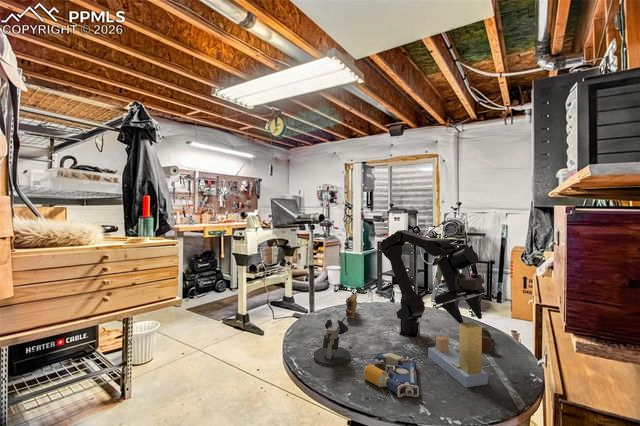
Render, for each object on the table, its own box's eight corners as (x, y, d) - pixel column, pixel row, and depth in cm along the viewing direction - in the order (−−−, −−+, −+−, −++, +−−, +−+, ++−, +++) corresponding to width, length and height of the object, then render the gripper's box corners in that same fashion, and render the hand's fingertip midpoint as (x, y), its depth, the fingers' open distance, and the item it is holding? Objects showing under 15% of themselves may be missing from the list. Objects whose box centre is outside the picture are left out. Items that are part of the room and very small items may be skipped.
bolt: (485, 341, 117) (486, 356, 104) (473, 332, 119) (471, 346, 106) (494, 329, 116) (495, 343, 103) (481, 321, 118) (481, 333, 105)
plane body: (428, 356, 101) (428, 335, 101) (446, 354, 103) (446, 333, 102) (465, 387, 83) (465, 362, 83) (487, 384, 85) (487, 359, 85)
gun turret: (358, 343, 111) (358, 308, 111) (345, 371, 92) (345, 328, 92) (325, 339, 115) (325, 305, 115) (306, 364, 96) (306, 323, 96)
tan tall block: (459, 368, 88) (459, 323, 88) (472, 366, 89) (472, 322, 89) (467, 374, 84) (467, 327, 84) (481, 372, 85) (481, 326, 85)
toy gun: (360, 394, 81) (419, 404, 77) (360, 378, 81) (419, 387, 77) (368, 359, 101) (416, 365, 97) (369, 346, 101) (416, 352, 97)
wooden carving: (347, 310, 148) (347, 290, 148) (357, 311, 147) (357, 290, 147) (344, 322, 132) (344, 299, 132) (354, 323, 131) (354, 300, 131)
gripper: (450, 269, 92) (473, 322, 86) (488, 263, 101) (511, 310, 95) (425, 280, 101) (444, 329, 94) (461, 274, 110) (481, 318, 103)
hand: (471, 321), depth 97 cm, fingers open, 9 cm apart
